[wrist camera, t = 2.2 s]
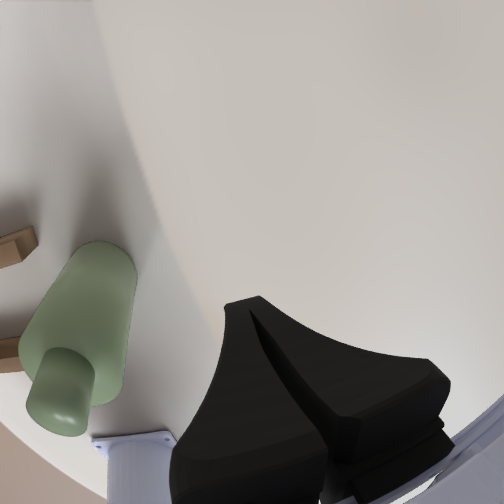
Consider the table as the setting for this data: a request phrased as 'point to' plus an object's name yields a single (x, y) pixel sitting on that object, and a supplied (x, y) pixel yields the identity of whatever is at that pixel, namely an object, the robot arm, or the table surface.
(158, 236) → the table surface
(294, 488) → the robot arm
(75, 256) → the bottle
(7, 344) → the u rest
